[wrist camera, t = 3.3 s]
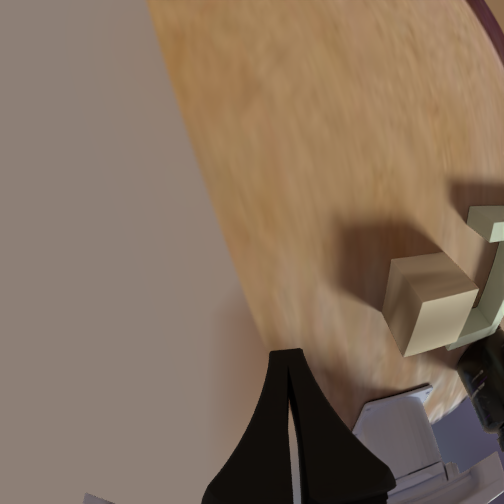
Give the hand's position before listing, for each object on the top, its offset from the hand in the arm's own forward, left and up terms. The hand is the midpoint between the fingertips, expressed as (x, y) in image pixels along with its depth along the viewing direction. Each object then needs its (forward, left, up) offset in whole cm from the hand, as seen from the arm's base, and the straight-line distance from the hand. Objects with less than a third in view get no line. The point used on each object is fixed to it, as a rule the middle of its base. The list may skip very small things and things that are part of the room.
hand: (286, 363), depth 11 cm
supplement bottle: (-11, -21, -5) cm, 24 cm away
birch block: (0, -9, -5) cm, 10 cm away
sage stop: (0, -15, -5) cm, 15 cm away
